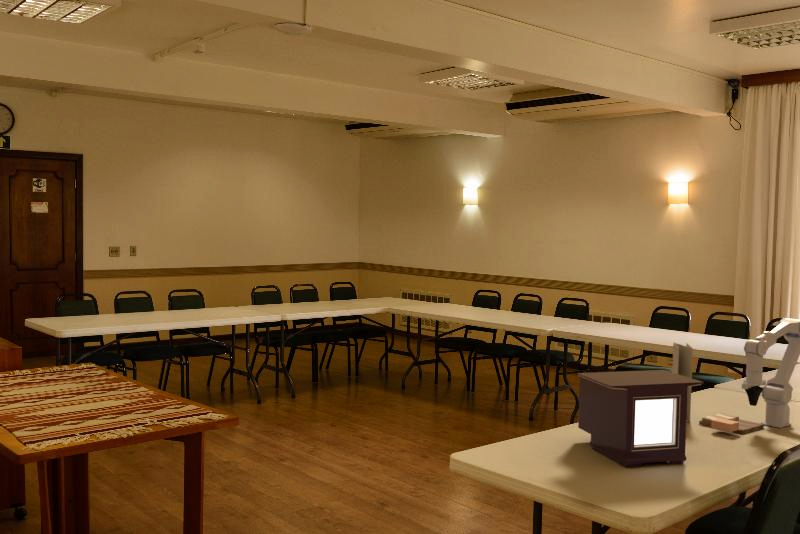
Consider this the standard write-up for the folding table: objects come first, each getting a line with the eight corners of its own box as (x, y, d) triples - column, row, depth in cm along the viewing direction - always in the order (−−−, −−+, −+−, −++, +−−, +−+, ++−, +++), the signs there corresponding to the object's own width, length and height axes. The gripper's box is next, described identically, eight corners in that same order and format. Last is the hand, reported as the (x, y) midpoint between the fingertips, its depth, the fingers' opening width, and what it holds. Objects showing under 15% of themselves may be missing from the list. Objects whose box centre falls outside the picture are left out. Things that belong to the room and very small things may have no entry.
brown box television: (702, 463, 261) (705, 382, 260) (609, 470, 252) (611, 386, 251) (642, 435, 295) (645, 364, 294) (558, 440, 286) (560, 367, 284)
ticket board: (721, 418, 323) (721, 412, 323) (763, 428, 309) (763, 421, 308) (699, 424, 313) (699, 417, 313) (742, 434, 299) (742, 427, 299)
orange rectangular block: (719, 425, 305) (720, 417, 305) (738, 429, 299) (739, 422, 299) (711, 427, 301) (711, 420, 301) (730, 432, 295) (730, 424, 295)
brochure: (690, 422, 317) (692, 348, 315) (675, 421, 318) (678, 347, 316) (684, 413, 331) (687, 343, 329) (671, 413, 332) (673, 342, 330)
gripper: (754, 367, 313) (752, 401, 314) (734, 371, 305) (733, 405, 305) (771, 370, 308) (770, 404, 309) (752, 373, 299) (750, 409, 300)
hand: (753, 405), depth 307 cm, fingers closed
